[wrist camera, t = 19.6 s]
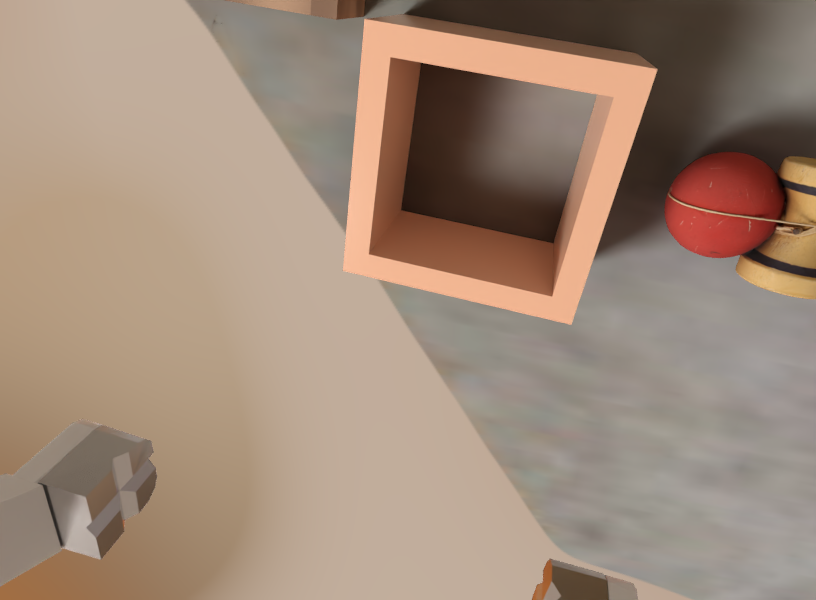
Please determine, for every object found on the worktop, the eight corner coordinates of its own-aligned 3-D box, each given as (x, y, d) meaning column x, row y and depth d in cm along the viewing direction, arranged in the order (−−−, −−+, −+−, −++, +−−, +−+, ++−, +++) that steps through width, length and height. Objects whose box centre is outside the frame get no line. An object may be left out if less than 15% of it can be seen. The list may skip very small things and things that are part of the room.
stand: (636, 53, 32) (657, 69, 25) (569, 267, 39) (571, 324, 32) (403, 14, 34) (364, 18, 27) (378, 225, 41) (343, 270, 34)
